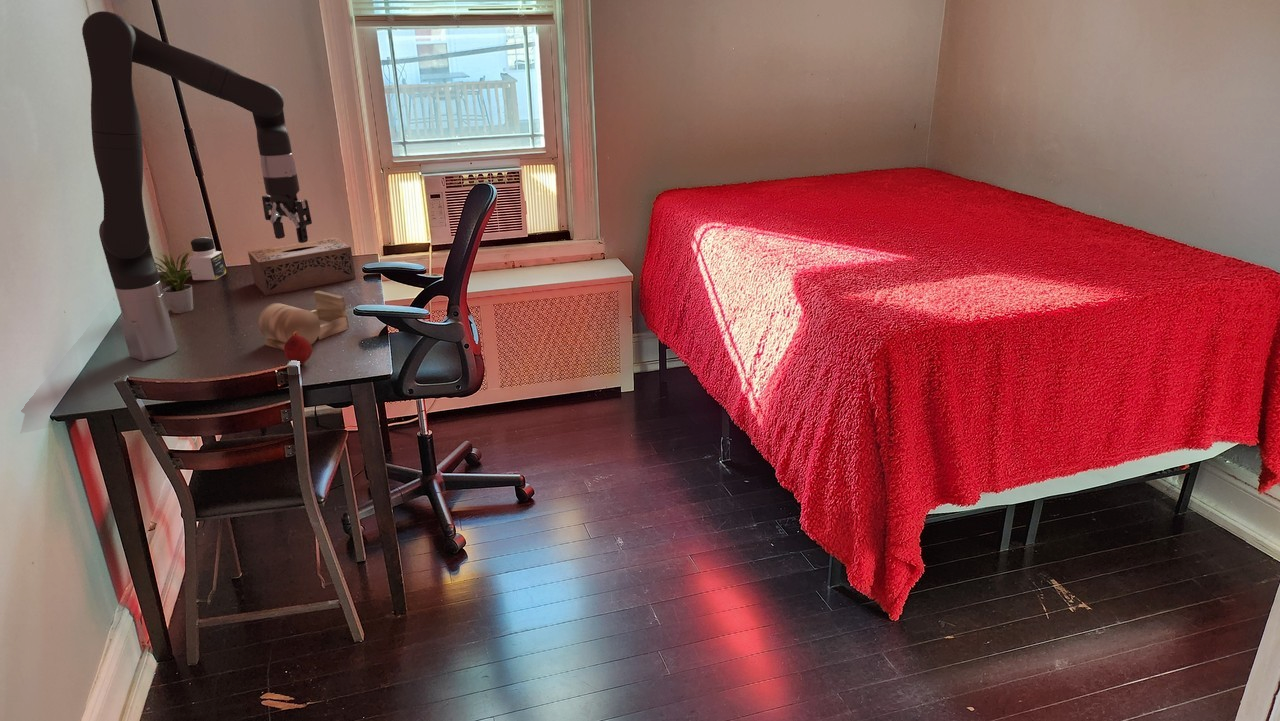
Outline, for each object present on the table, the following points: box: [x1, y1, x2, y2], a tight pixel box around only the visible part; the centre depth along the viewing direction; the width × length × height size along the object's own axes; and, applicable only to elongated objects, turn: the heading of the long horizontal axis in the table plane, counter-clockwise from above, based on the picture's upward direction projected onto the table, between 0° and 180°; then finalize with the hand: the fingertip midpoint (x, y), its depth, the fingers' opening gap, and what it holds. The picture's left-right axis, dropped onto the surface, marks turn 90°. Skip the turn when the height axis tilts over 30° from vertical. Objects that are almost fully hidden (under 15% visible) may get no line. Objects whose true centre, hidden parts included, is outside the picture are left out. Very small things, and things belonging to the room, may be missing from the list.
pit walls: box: [310, 290, 350, 341], centre depth 210 cm, size 10×12×8 cm
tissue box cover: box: [247, 237, 357, 296], centre depth 248 cm, size 26×14×10 cm, turn 125°
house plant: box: [155, 249, 197, 314], centre depth 226 cm, size 14×14×16 cm
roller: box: [258, 302, 320, 351], centre depth 201 cm, size 11×9×9 cm
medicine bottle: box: [187, 236, 227, 281], centre depth 254 cm, size 7×7×12 cm
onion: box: [283, 332, 313, 366], centre depth 188 cm, size 6×6×8 cm
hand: (291, 240), depth 204 cm, fingers open, 8 cm apart
